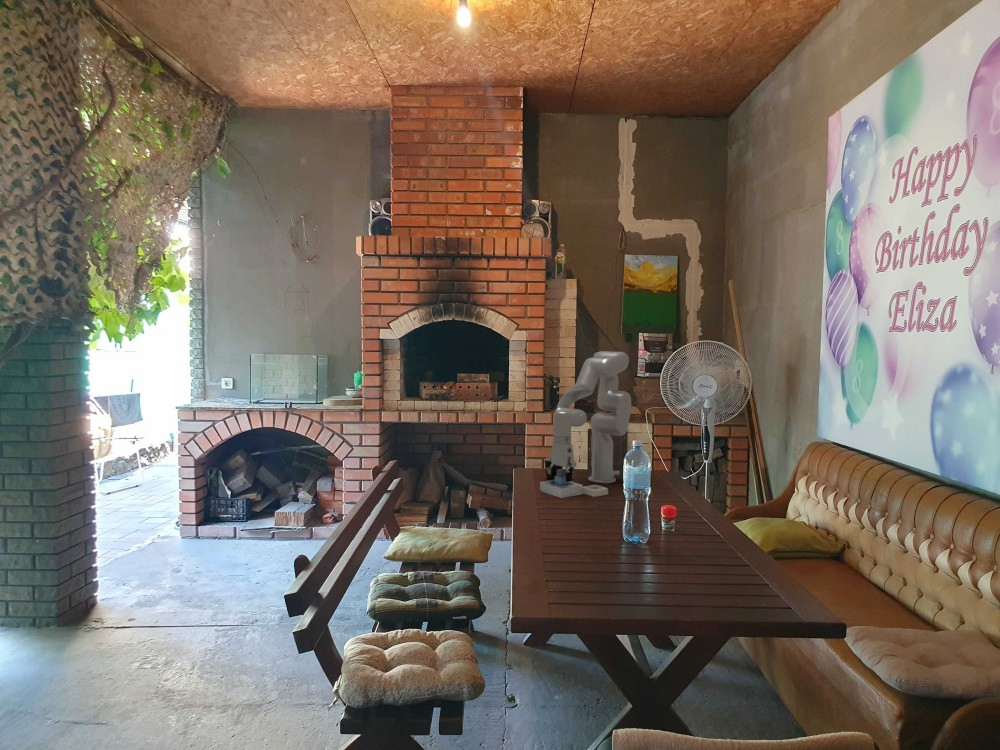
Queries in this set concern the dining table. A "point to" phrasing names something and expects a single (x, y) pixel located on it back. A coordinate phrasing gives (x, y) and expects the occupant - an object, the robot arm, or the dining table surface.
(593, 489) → the cream square frame
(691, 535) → the dining table surface
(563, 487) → the port panel
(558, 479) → the plug
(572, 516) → the dining table surface
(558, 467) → the coffee mug
